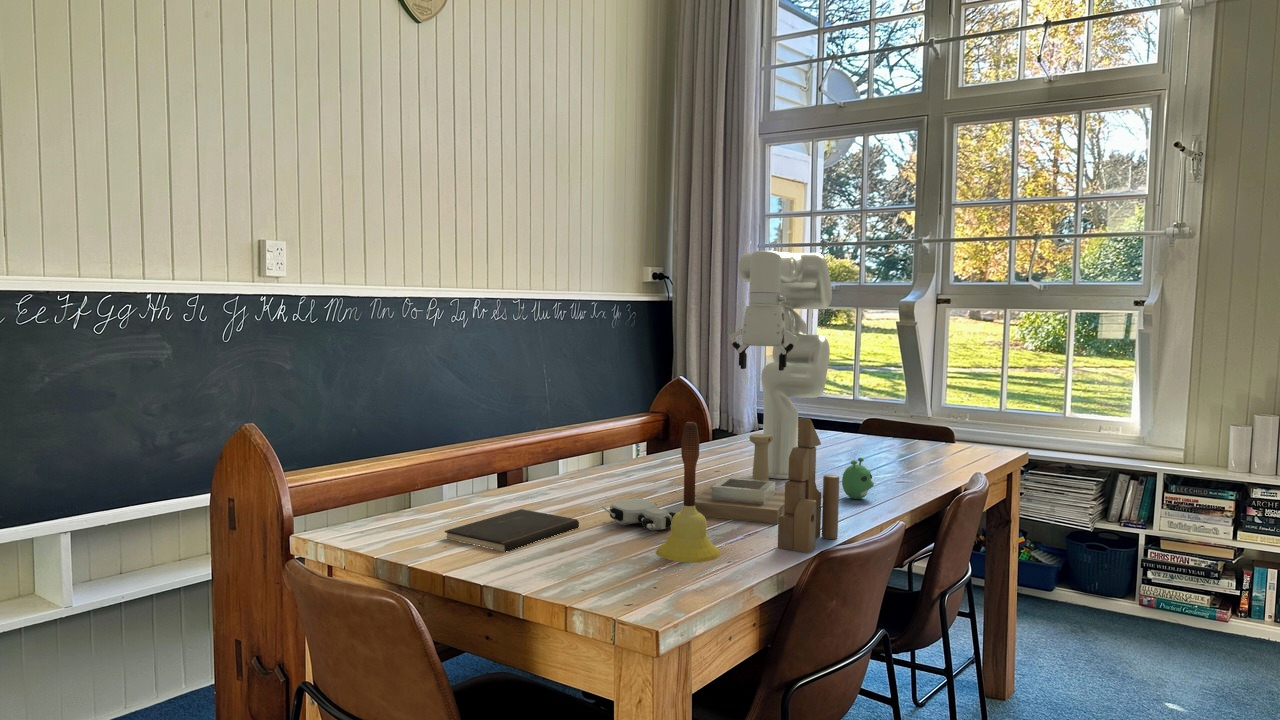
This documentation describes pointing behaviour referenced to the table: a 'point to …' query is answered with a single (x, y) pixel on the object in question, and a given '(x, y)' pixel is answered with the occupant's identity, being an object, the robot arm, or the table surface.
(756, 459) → the handle
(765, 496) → the collar
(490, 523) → the hardcover book
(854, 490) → the alien toy
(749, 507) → the board
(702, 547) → the handbell
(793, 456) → the wooden toy
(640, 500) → the robot toy
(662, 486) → the table surface
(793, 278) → the robot arm
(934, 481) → the table surface
